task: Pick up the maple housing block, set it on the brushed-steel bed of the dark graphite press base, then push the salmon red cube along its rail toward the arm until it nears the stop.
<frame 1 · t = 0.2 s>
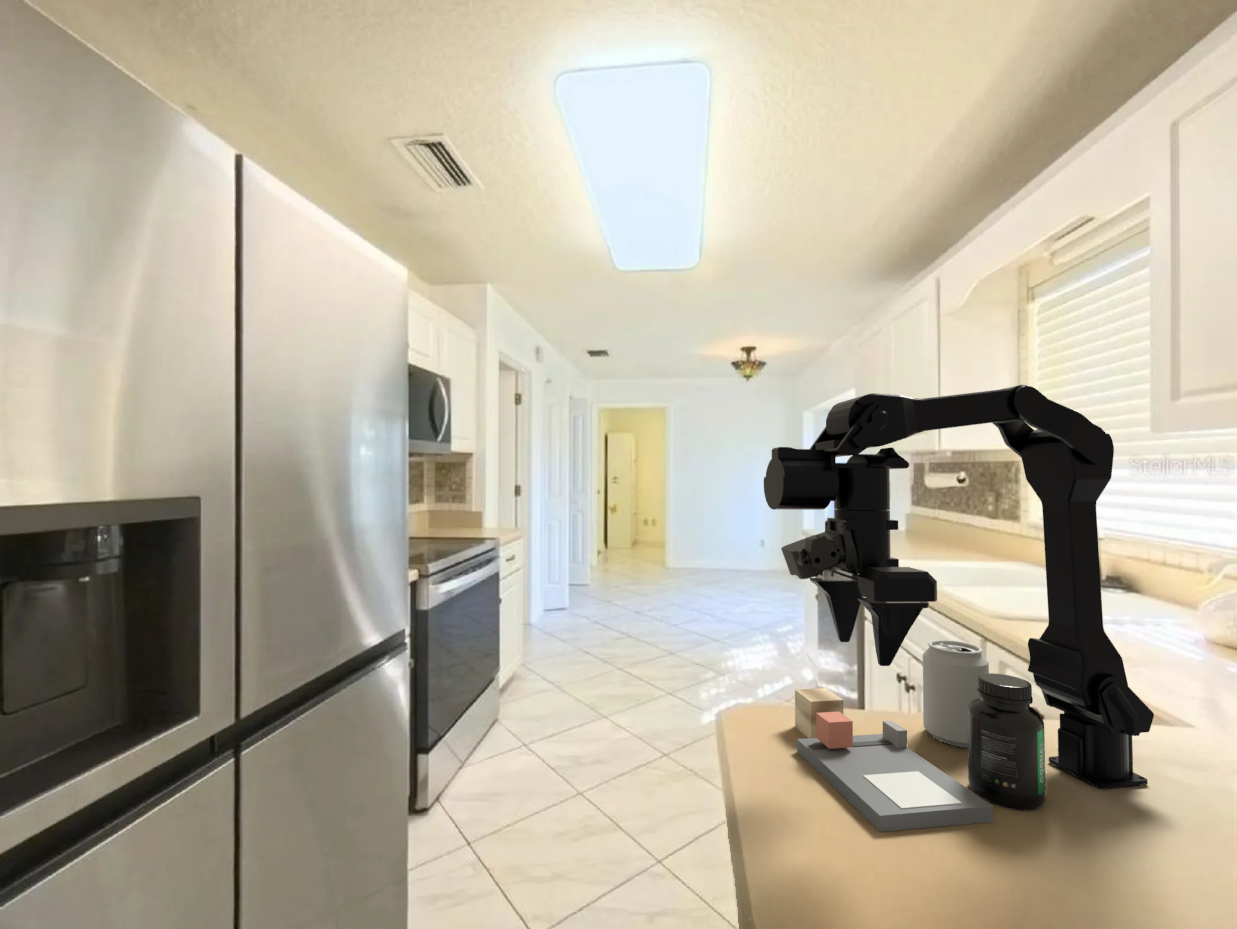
hand: (862, 652, 65), 14 cm above the countertop, fingers open, 9 cm apart
housing: (818, 732, 78), on the countertop
press base: (883, 782, 65), on the countertop
supplement bottle: (1005, 796, 62), on the countertop
salmon red cube: (834, 729, 70), point 3 cm above the countertop, slide at 0.0 cm
can: (955, 739, 77), on the countertop
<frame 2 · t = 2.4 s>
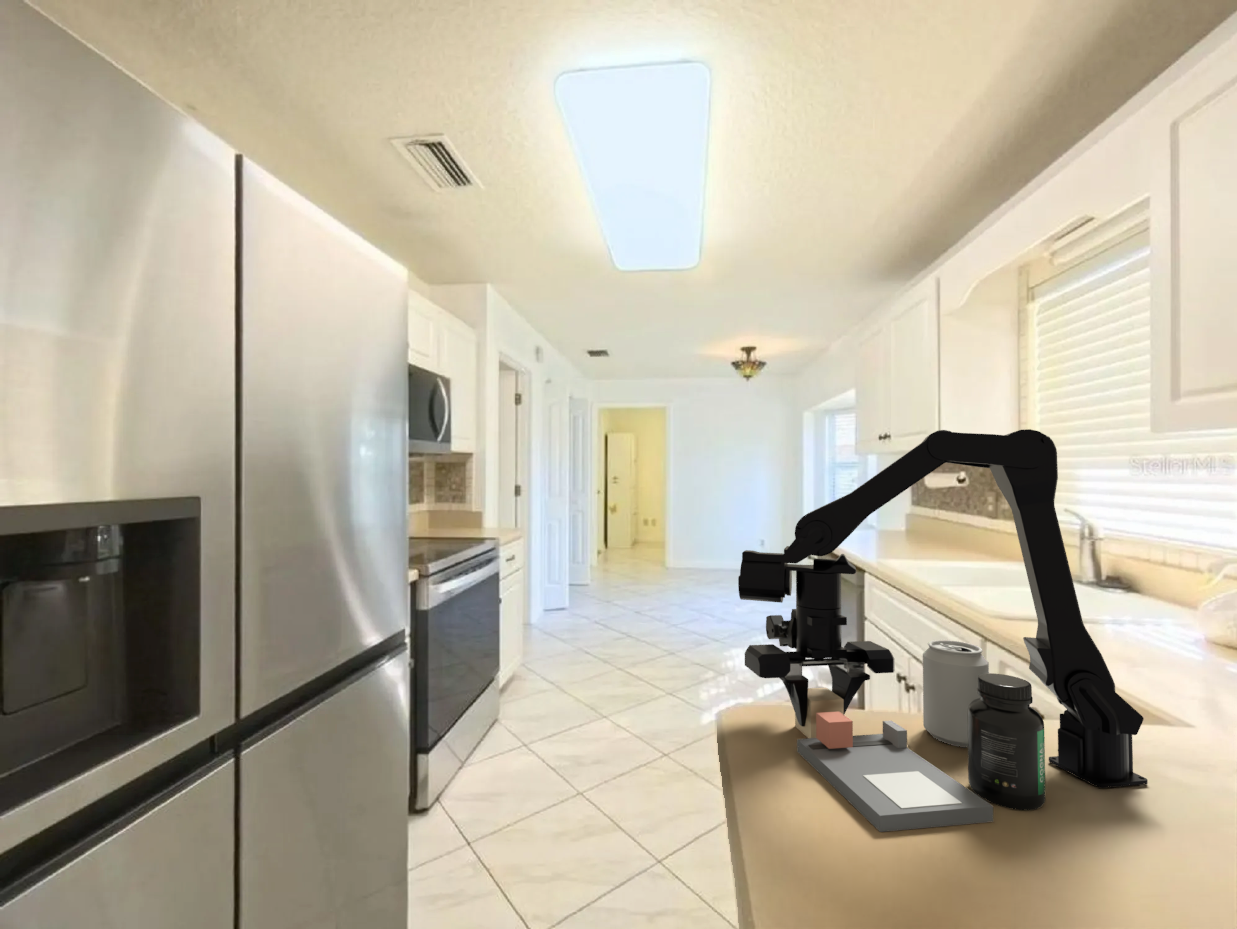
hand: (818, 724, 78), 1 cm above the countertop, fingers closed on housing, 4 cm apart
housing: (818, 732, 78), on the countertop, touching gripper
everything else where it was.
when the fingers open (4 cm above the countertop, at t = 7.0 s): housing stays where it is, resting on press base.
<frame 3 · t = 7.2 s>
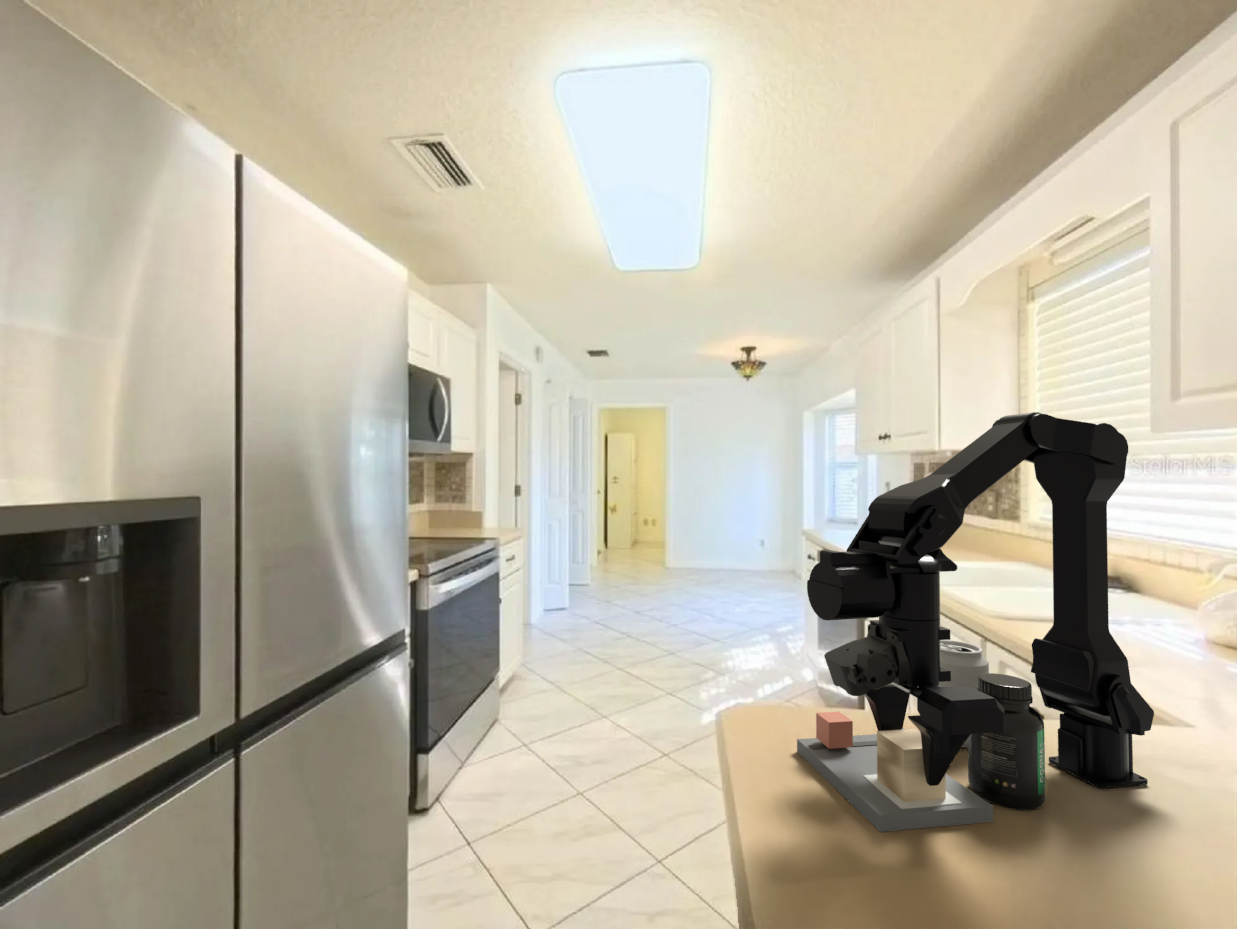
hand: (910, 768, 60), 4 cm above the countertop, fingers open, 6 cm apart
housing: (910, 788, 60), point 2 cm above the countertop, touching press base
everything else where it was.
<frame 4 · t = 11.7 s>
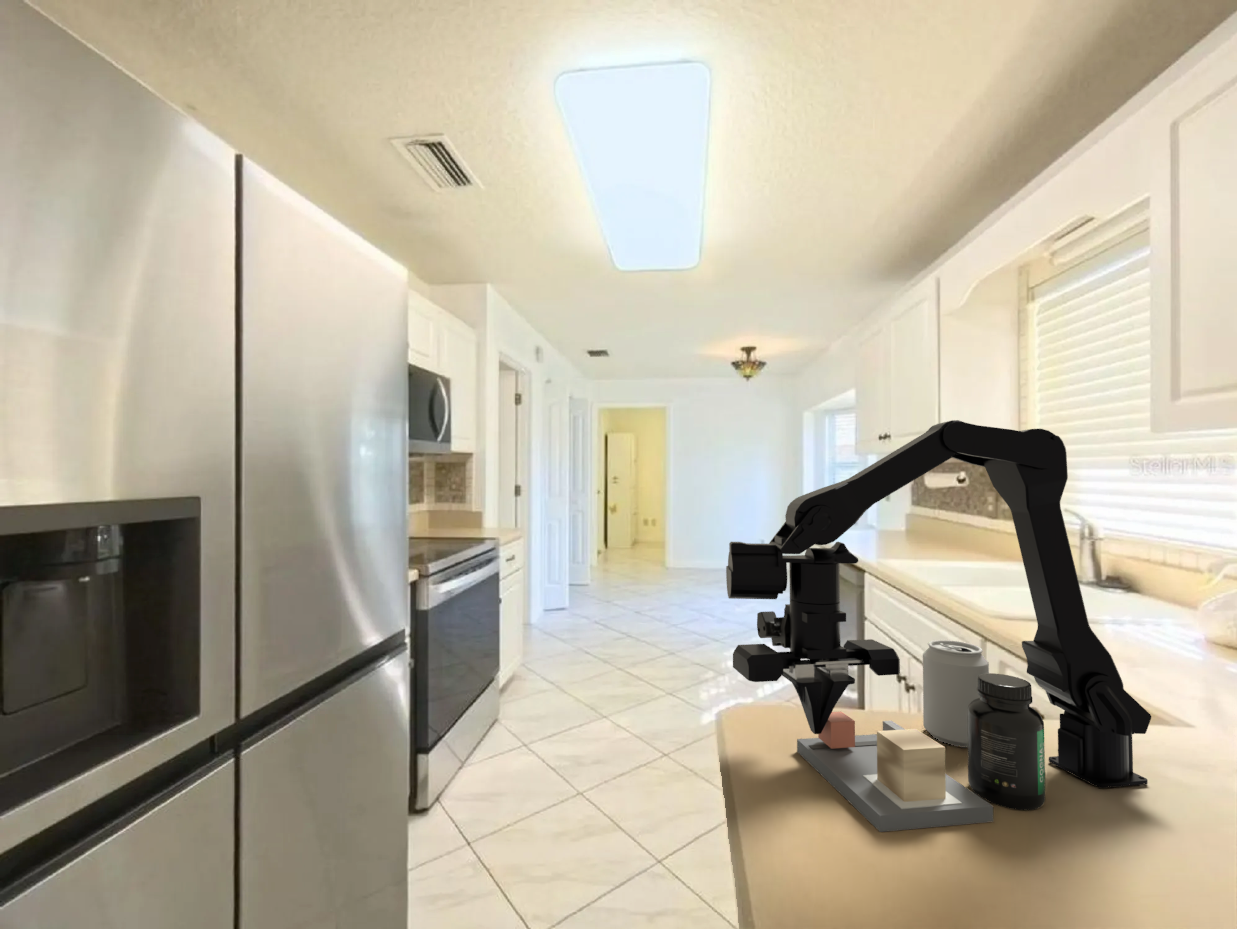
hand: (815, 732, 70), 3 cm above the countertop, fingers closed
salmon red cube: (836, 729, 70), point 3 cm above the countertop, slide at 0.3 cm, touching gripper
everything else where it was.
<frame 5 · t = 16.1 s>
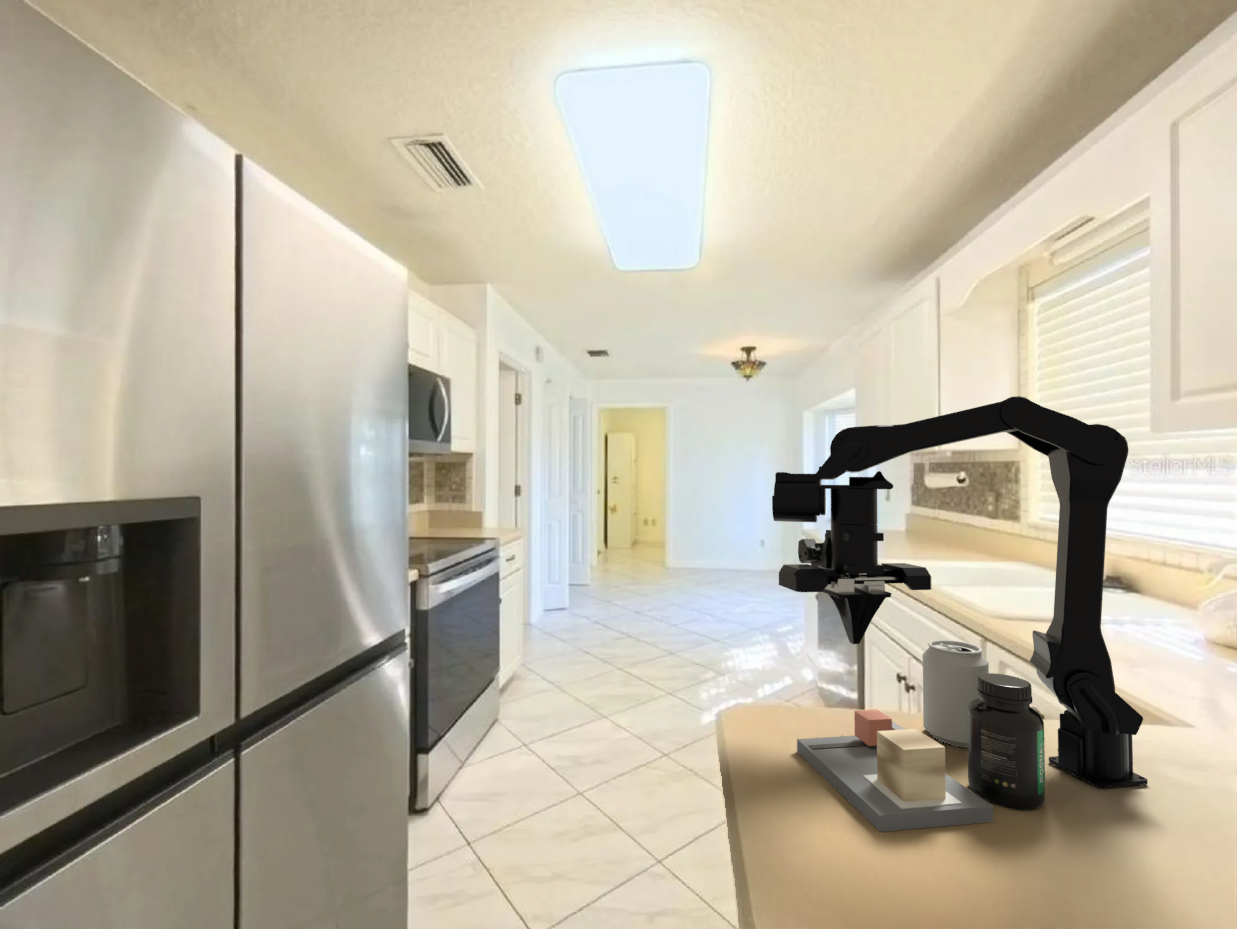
hand: (854, 643, 77), 12 cm above the countertop, fingers closed
salmon red cube: (873, 727, 71), point 3 cm above the countertop, slide at 5.0 cm
everything else where it was.
at the end: housing 0.0 cm from the target spot on the press base, point 1.6 cm above the press base's base; housing tilted 0°; salmon red cube slide at 5.0 cm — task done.
